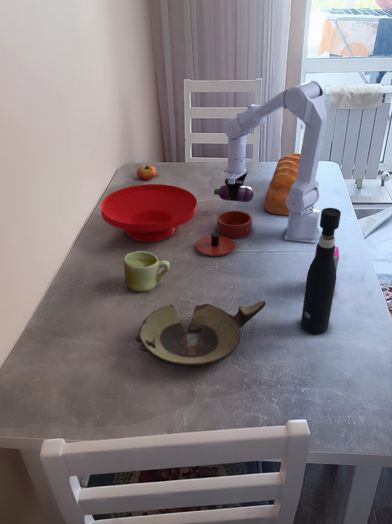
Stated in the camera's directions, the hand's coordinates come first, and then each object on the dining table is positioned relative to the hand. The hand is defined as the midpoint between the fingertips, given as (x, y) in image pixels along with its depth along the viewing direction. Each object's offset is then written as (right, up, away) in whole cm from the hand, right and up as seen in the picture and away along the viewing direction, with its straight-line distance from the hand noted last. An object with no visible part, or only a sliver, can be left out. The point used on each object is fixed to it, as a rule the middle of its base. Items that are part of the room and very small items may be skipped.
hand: (236, 196), depth 163 cm
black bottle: (+15, -43, -46) cm, 65 cm away
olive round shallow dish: (-12, -48, -50) cm, 70 cm away
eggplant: (0, -1, +1) cm, 1 cm away
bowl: (-28, -12, -4) cm, 31 cm away
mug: (-27, -32, -29) cm, 51 cm away
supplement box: (+20, -33, -33) cm, 51 cm away
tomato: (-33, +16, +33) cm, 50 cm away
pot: (-1, -13, -6) cm, 14 cm away
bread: (+21, +3, +14) cm, 25 cm away
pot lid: (-8, -19, -15) cm, 25 cm away
